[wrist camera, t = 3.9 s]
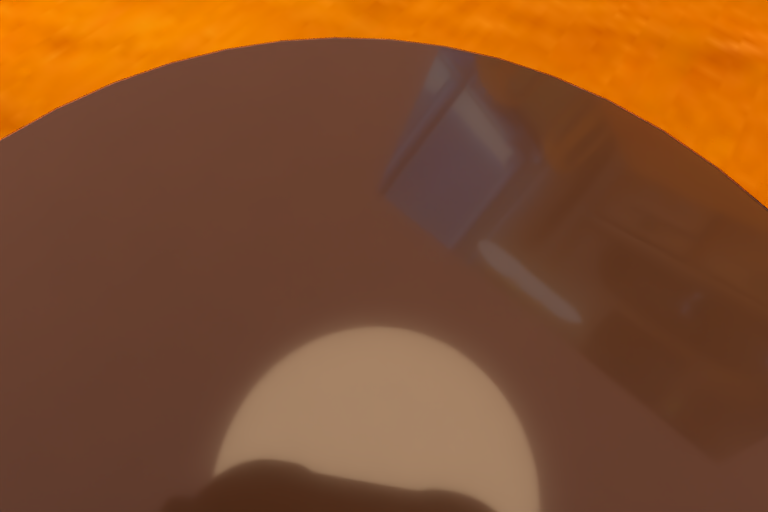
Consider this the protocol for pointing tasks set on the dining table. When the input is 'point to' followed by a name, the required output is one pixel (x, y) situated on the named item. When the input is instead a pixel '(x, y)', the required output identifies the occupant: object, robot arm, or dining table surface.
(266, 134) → the blue canister
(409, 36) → the dining table surface
